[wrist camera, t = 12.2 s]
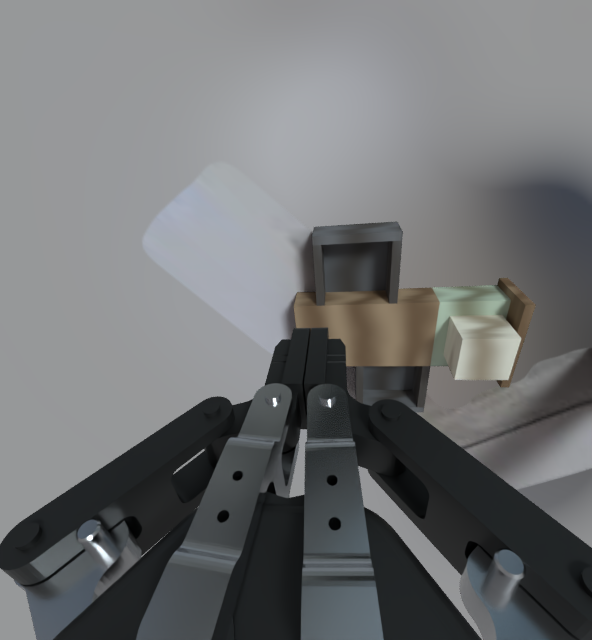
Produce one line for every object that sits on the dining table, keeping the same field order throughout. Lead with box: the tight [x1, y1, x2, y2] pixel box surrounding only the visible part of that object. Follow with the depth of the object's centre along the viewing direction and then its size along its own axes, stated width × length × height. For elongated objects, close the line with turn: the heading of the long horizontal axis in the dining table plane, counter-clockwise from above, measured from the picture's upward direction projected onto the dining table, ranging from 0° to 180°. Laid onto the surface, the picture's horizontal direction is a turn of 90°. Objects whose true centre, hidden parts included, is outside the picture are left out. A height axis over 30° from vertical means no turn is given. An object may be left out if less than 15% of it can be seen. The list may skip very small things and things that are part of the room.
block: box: [443, 315, 521, 380], centre depth 40 cm, size 6×6×5 cm
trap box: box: [294, 222, 536, 412], centre depth 43 cm, size 27×28×7 cm
